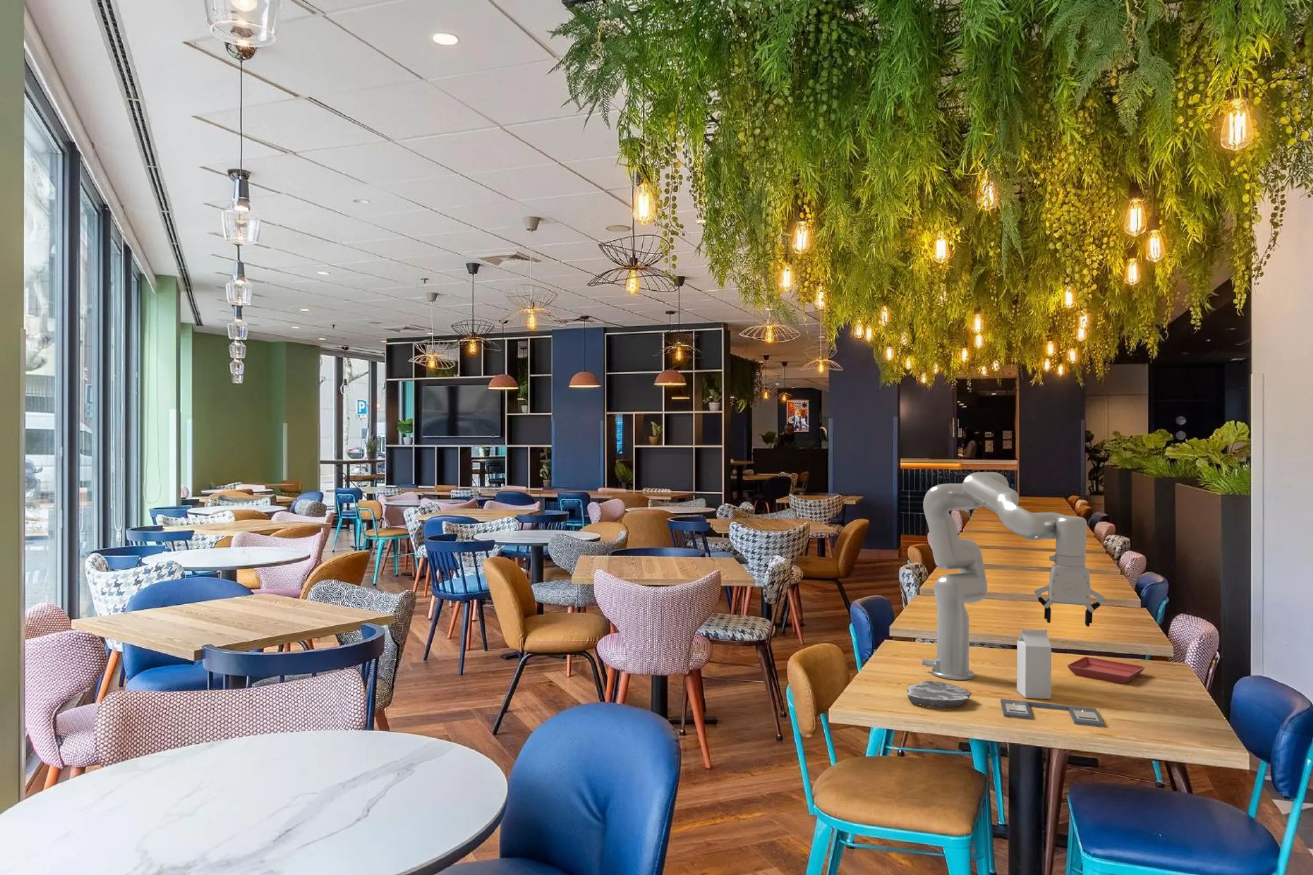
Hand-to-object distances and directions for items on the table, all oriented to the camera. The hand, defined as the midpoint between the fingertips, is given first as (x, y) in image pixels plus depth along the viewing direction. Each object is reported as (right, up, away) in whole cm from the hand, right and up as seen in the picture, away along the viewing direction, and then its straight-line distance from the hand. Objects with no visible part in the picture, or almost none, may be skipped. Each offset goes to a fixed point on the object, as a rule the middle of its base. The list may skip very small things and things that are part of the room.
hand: (1067, 623), depth 233 cm
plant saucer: (+30, -25, +37) cm, 54 cm away
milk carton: (-3, -24, +13) cm, 28 cm away
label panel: (-7, -24, -5) cm, 25 cm away
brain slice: (-33, -24, +7) cm, 41 cm away
